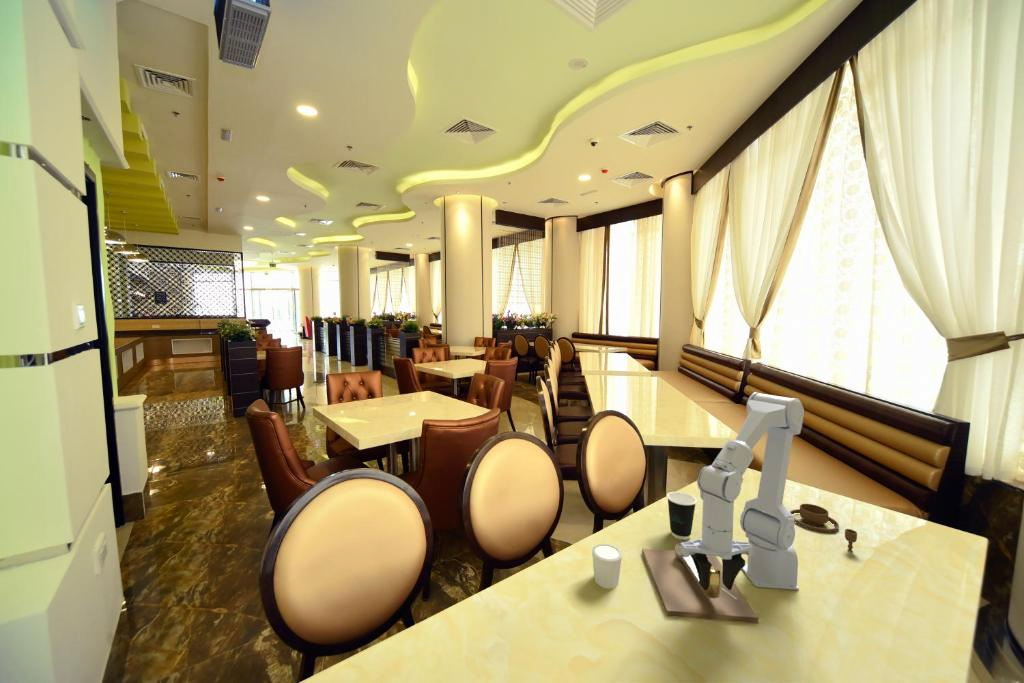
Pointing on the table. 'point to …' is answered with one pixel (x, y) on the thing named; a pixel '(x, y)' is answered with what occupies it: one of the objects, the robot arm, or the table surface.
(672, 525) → the dixie cup
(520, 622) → the table surface
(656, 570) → the bench base
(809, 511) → the place setting
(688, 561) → the lever
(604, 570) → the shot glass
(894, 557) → the table surface
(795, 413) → the robot arm
